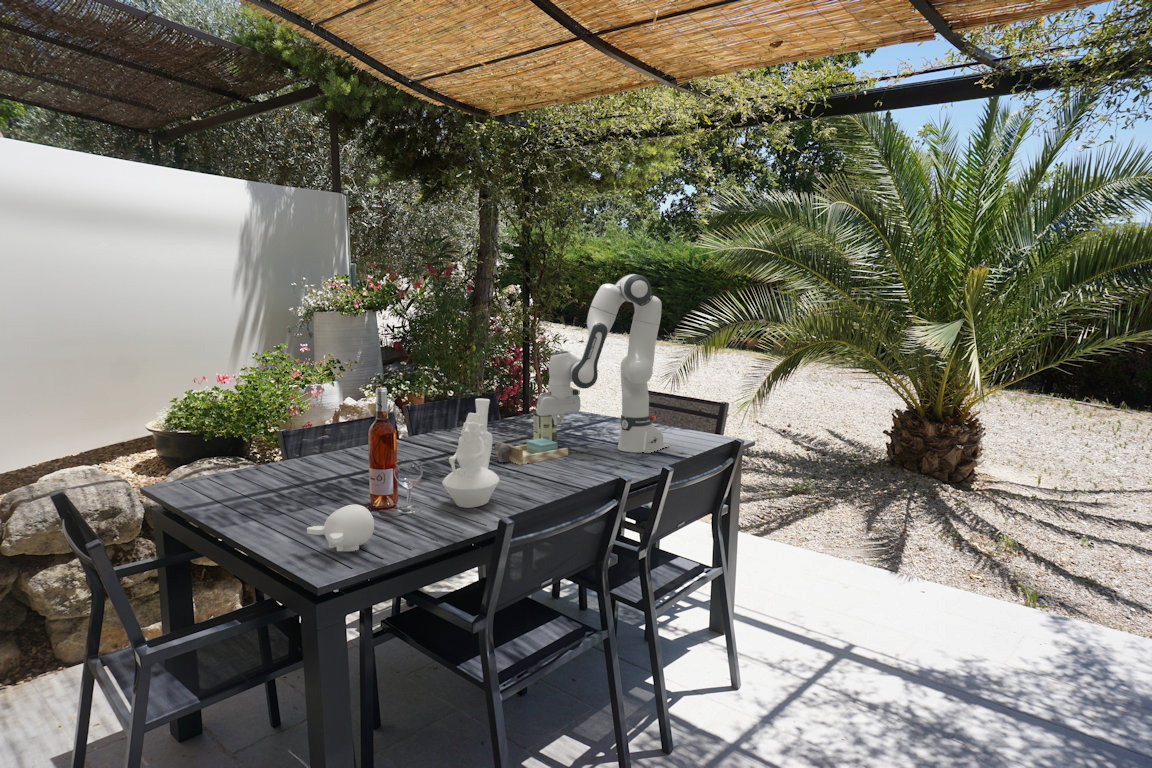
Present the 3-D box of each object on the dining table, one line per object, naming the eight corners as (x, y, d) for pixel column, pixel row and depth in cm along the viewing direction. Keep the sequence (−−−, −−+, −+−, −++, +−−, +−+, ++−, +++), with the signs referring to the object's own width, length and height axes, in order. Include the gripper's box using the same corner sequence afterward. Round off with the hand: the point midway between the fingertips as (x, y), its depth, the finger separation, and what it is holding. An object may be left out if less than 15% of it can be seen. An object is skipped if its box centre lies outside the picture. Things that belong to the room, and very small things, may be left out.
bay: (544, 448, 298) (544, 431, 297) (568, 455, 286) (568, 438, 285) (484, 459, 280) (484, 441, 279) (507, 467, 268) (507, 448, 267)
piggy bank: (363, 542, 196) (314, 563, 184) (351, 501, 196) (301, 519, 184) (389, 540, 188) (340, 561, 176) (377, 497, 188) (326, 515, 176)
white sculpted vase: (430, 506, 222) (428, 404, 217) (473, 489, 240) (472, 394, 236) (476, 516, 213) (475, 410, 208) (517, 497, 232) (517, 399, 227)
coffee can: (548, 440, 313) (548, 408, 311) (561, 444, 304) (561, 412, 302) (528, 443, 307) (528, 410, 305) (541, 448, 299) (541, 414, 297)
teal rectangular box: (542, 447, 294) (542, 438, 293) (557, 452, 286) (557, 442, 285) (526, 450, 289) (526, 440, 288) (541, 455, 281) (541, 445, 280)
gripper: (543, 394, 280) (542, 428, 282) (583, 390, 293) (581, 423, 295) (533, 391, 285) (532, 425, 287) (573, 388, 298) (572, 421, 300)
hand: (557, 424), depth 291 cm, fingers closed
